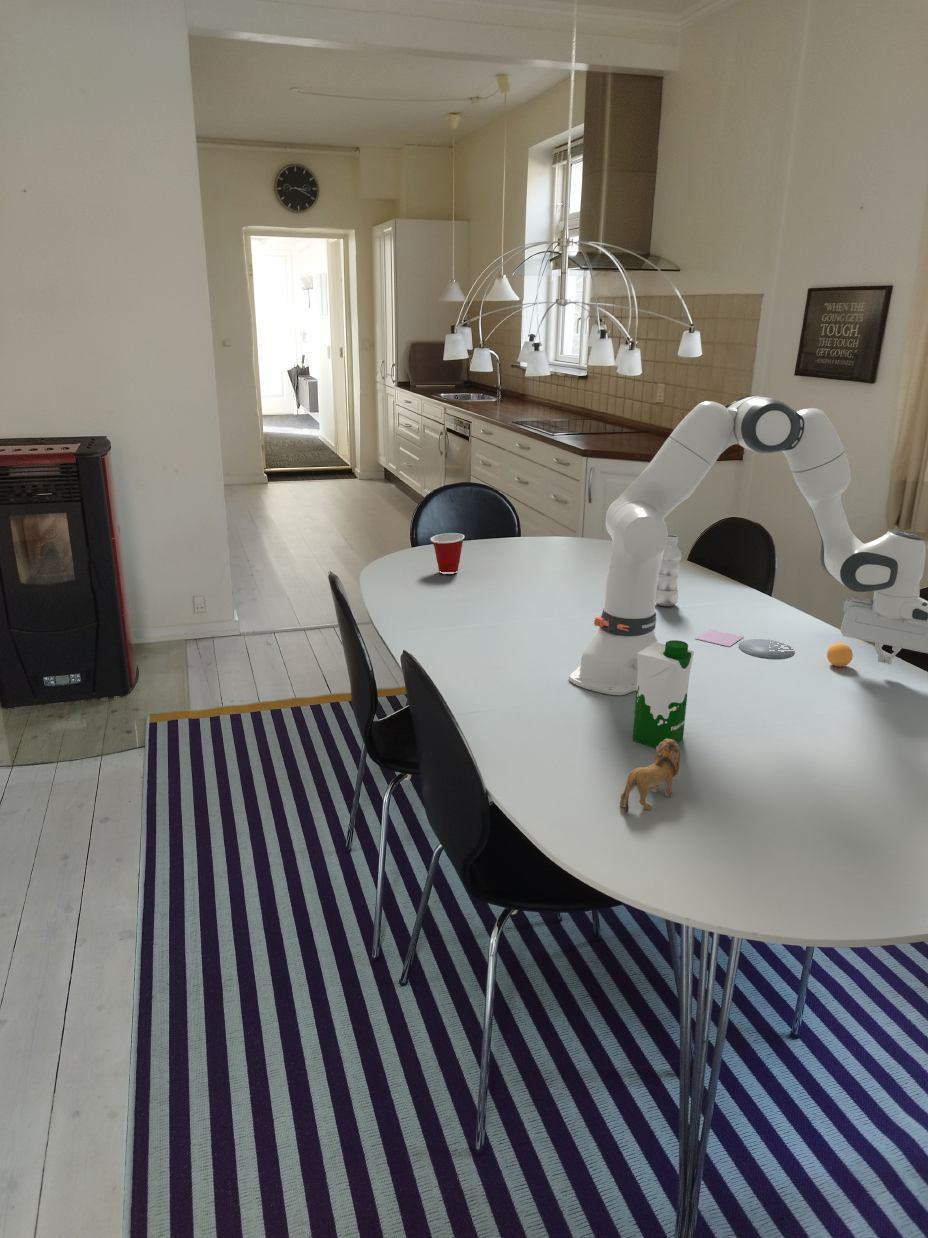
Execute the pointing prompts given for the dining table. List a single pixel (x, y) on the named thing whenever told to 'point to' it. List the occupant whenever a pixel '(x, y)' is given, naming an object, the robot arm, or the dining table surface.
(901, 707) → the dining table surface
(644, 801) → the lion figurine
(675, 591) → the plastic bottle
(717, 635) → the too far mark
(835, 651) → the ball
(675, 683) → the milk carton
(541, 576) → the dining table surface
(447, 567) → the plastic cup
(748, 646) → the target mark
